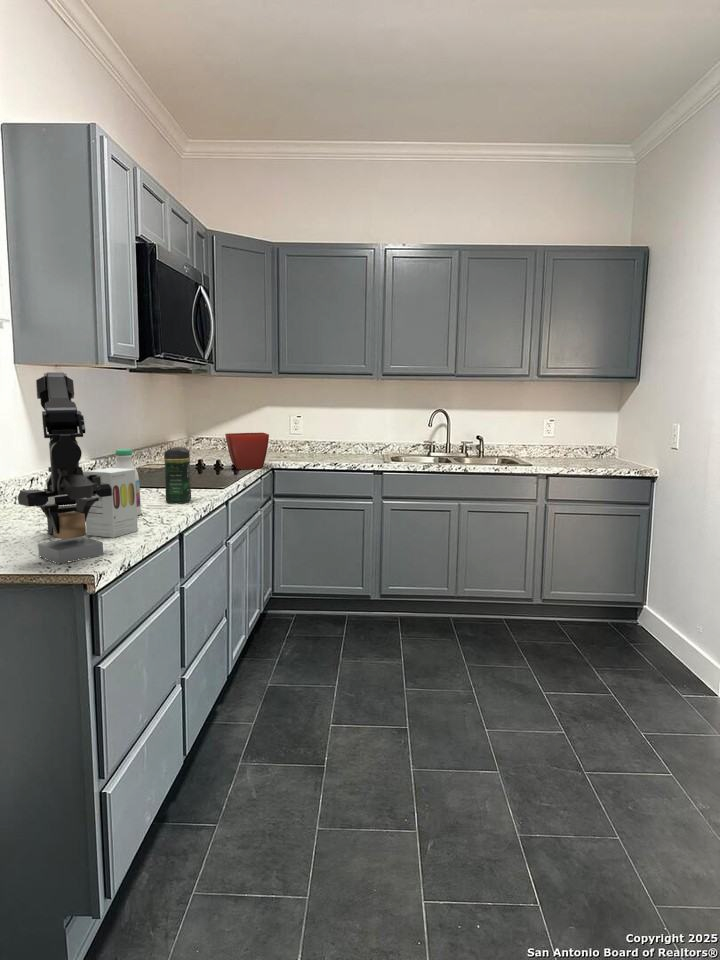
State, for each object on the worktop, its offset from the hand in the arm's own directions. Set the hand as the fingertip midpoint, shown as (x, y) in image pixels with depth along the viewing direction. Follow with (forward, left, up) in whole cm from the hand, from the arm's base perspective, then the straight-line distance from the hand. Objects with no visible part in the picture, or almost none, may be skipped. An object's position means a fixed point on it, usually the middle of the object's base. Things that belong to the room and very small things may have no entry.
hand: (69, 531), depth 141 cm
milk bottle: (-33, -34, -6) cm, 48 cm away
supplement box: (-18, -15, -6) cm, 24 cm away
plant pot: (-134, -100, -6) cm, 168 cm away
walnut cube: (0, 0, -1) cm, 1 cm away
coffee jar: (-57, -43, -6) cm, 72 cm away
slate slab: (0, 0, -6) cm, 6 cm away
